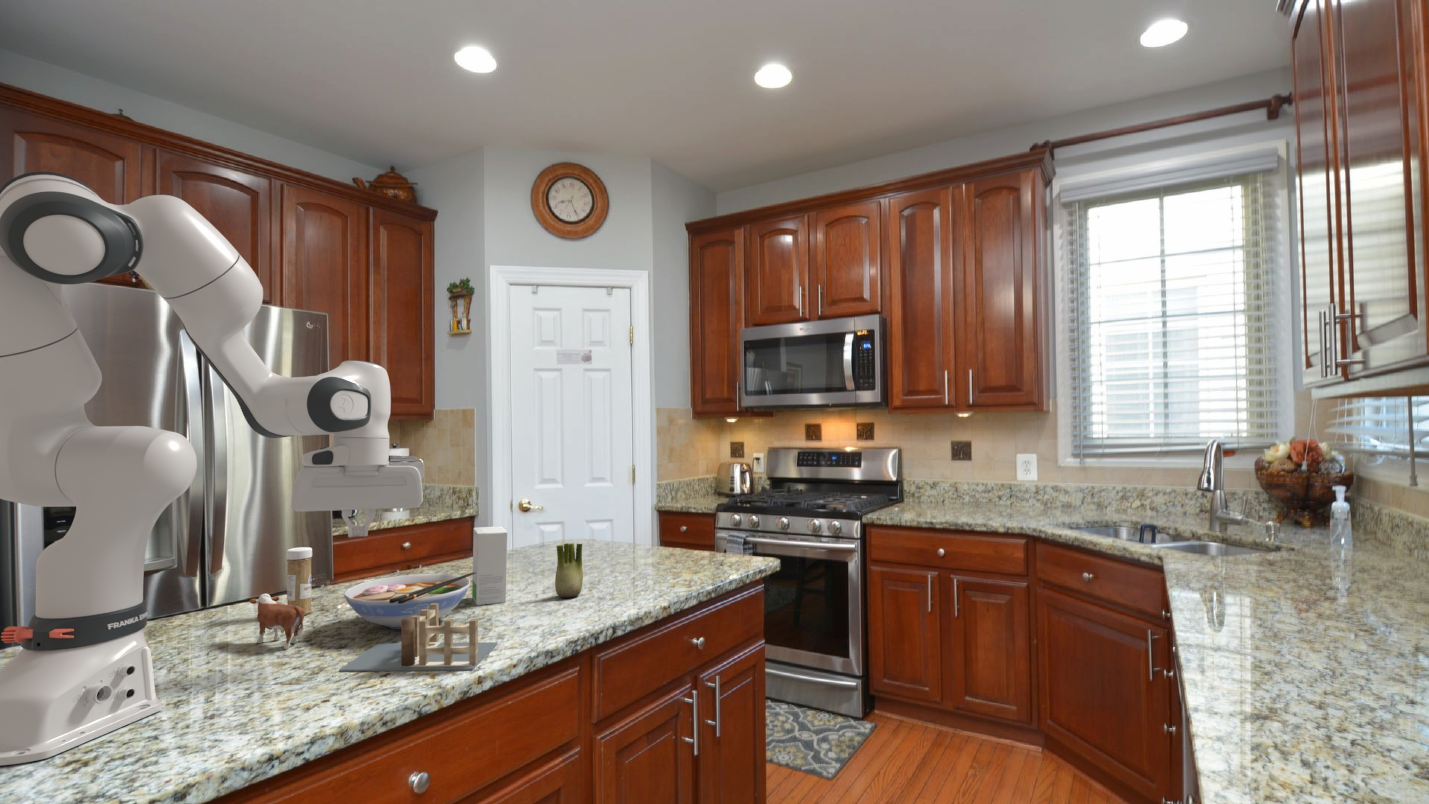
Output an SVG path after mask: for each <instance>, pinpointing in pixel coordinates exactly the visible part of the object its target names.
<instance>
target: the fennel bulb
mask: <svg viewBox="0 0 1429 804" xmlns="http://www.w3.org/2000/svg"><path fill="white" fill-rule="evenodd" d="M575 549H576V550H575ZM556 554H557V555H556V557H557V567H556V571H555V580H554V588H555V589H554V591H555V592H556V595H557V596H558V597H560V598H564V599H565V598H574V597H578V596H580V594H581V591H582V588H583V580H584V572H583V571H584V570H583V556H582V555H583V543H576V548H575V543H564V544H557V545H556Z"/></svg>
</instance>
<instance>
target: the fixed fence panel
mask: <svg viewBox="0 0 1429 804" xmlns="http://www.w3.org/2000/svg"><path fill="white" fill-rule="evenodd" d="M468 624H469V625H454V619H453V618H447V619H445V620H444V622H443V625H439V626H428V619H422V620H421V621H419V665H426V664H428V655H440V654H444V665H451V664H452V663H453V654H469V665H476V664H477V663H478V643H479V619H478V618H471V619H469V621H468ZM428 634H439V635H441V634H443V635H444V636H443V637H444V638H443V643H444V646H433V647H428ZM455 634H468V643H469V646H453V643H454V635H455Z"/></svg>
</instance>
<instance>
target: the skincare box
mask: <svg viewBox="0 0 1429 804" xmlns="http://www.w3.org/2000/svg"><path fill="white" fill-rule="evenodd" d="M472 540H473V542H472V544H473V546H472V548H473V549H472V573H473V572H474V573H475V574H473V575H472V578H471V579H472V585H471V586H472V587H471V588H472V589H471V597H472V600H473V601H474V603H475V606H477V605H478V606H484V605H485V604H487V605H493V604H502V603H503V604H505V603H506V602H507V567H508V566H507V565H508V564H507V563H508V561H507V560H508V559H507V558H508V531H507V530H506V528H504V527H503V526H501V525H497V526H482V527H479V526H477V527H473V539H472Z"/></svg>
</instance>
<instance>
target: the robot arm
mask: <svg viewBox="0 0 1429 804" xmlns="http://www.w3.org/2000/svg"><path fill="white" fill-rule="evenodd" d="M133 271H134V272H136V273H137V274H138V275H139V276H140V277H141V278H142V279H144V281H146V282H147V284H149V286H150V287H152V289H153V290H154V291H155V292H156V293H157V294H158V295H159V297H161V298H162V299H163V300H164V301H165V302H166V303H167V305H168V306H169V307H170V308H171V309H172V310H173V311H174V312H175V313H176V315H177V316H178V317H179V319H180V320H181V322H182V324H183V325H182V326H183V328H184V332H185V334H186V336H187V337H188V338H189V341H190V342H191V343H192V344H193V346H194V347H195V349H196V350H197V352H199V353H200V355H201V356H202V358H203V359H204V360H205V361H206V362H207V364H208V365H209V366H210V367H211V369H212V370H213V371H214V372H215V373H216V375H217V376H218V377H219V379H220V380H221V381H222V382H223V383H224V384H225V386H226V387H227V388H228V390H229V391H230V392H231V393H232V395H233V396H234V398H235V399H236V401H237V403H238V405H239V409H240V410H241V412H242V415H243V417H244V419H245V421H246V422H247V424H248V426H249V427H250V428H251V429H252V430H253V431H254V432H255V433H257V434H258V435H259V436H260V435H261V436H262V437H265V438H269V439H280V438H281V439H282V438H288V437H294V436H298V437H299V436H300V437H301V436H320V435H321V436H323V435H325V436H326V435H332V445H331V446H328V447H321V448H319V449H317V450H314V451H313V450H312V451H309V452H306V453H304V454H303V455H302V457H301V462H302V463H301V464H302V465H303V466H304V467H303V468H301V469H300V470H299V472H297V475H296V476H295V479H294V484H293V488H292V495H291V501H290V502H291V503H290V507H291V509H292V510H294V512H297V513H299V512H300V513H301V512H302V513H304V512H305V513H306V512H326V511H327V512H329V511H331V512H332V511H341V518H342V519H343V520H344V523H345V524H346V525H347V527H348V528H347V529H348V531H347V537H348V538H358V537H368V536H369V535H368V534H369V526H371V524H372V522H373V520H374V519H375V517H376V514H377V513H376V511H377V510H383V509H386V510H387V509H391V510H392V509H411V508H412V509H414V508H415V509H416V508H419V507H420V506H421V505H422V504H423V502H424V495H423V494H424V492H423V491H424V490H423V483H422V480H423V479H424V477H425V473H426V471H425V470H426V465H425V462H424V460H422V459H421V458H419V457H417V456H416V455H407V456H406V455H390V432H389V428H388V423H389V419H390V417H391V406H392V405H391V403H392V399H391V398H392V397H391V394H392V393H391V383H390V378H389V374H388V372H387V370H386V369H385V367H382V365H380V364H377V363H375V362H372V361H365V360H358V359H348V360H344V361H342V362H341V363H340V364H339V366H336V367H335V368H333V369H331V370H329V371H327V372H322V373H320V374H317V375H310V376H298V377H288V376H283V375H280V374H277V373H274V371H272V370H270V369H269V368H268V367H267V366H266V364H265V363H264V361H263V360H262V359H261V358H260V356H259V355H258V353H257V352H256V350H254V348H253V346H251V343H250V342H249V341H248V340H247V338H246V337H245V335H244V331H243V329H244V328H245V327H247V326H248V324H250V323H251V321H253V320H254V318H255V317H256V316H257V314H258V313H259V311H260V310H261V307H262V305H263V300H264V299H263V298H264V288H263V285H262V283H261V281H260V279H259V277H258V276H257V274H256V273H255V271H254V270H253V268H252V267H251V266H250V265H249V263H248V262H247V261H246V260H245V259H244V258H243V257H242V255H241V254H240V253H239V252H238V250H237V249H236V248H235V247H234V246H233V244H231V242H230V241H229V240H228V239H227V238H226V237H225V236H224V235H223V234H222V232H220V231H219V230H218V229H217V228H216V227H215V226H214V225H213V224H212V222H210V221H209V220H207V218H205V217H204V216H203V215H202V214H201V213H200V212H198V211H197V210H196V209H195V208H194V207H192V206H191V205H190V204H188V203H187V202H186V201H184V200H183V199H181V198H179V197H176V196H173V195H171V194H170V195H168V194H157V195H156V194H153V195H147V196H144V197H141V198H138V199H135V200H134V201H132V202H130V203H129V204H128V203H126V204H113V203H109V202H107V201H105V200H104V199H102V198H101V196H99V194H97V192H95V190H94V189H93V188H91V187H90V186H88V185H87V184H86V183H84V182H82V181H81V180H79V179H76V178H74V177H72V176H70V175H68V174H67V175H66V174H63V173H58V172H54V171H53V172H52V171H32V172H26V173H23V174H20V175H17V176H14V177H13V178H11V179H10V180H9V181H7V182H6V183H4V184H3V186H2V187H1V188H0V500H3V501H8V502H12V503H17V504H20V505H21V504H23V505H26V506H33V507H38V508H39V507H41V508H47V507H50V508H53V507H59V508H62V507H76V509H75V515H74V518H73V521H72V523H71V526H70V527H69V529H68V530H67V532H66V533H65V535H64V536H63V537H62V538H59V539H58V540H56V541H54V542H53V543H51V544H49V545H48V546H47V547H45V548H44V549H43V550H42V551H41V553H40V554H39V556H38V558H37V560H36V564H35V567H36V568H35V613H34V614H33V615H32V616H31V617H30V620H29V623H28V624H27V626H24V625H23V626H15V625H11V626H7V627H5V628H4V629H3V632H1V636H0V638H1V641H3V643H4V644H10V643H18V644H19V643H20V647H21V650H20V651H19V652H18V653H17V654H16V655H15V656H14V657H13V658H12V659H11V660H9V662H8V663H7V664H5V666H3V668H2V669H1V670H0V766H8V765H9V766H10V765H16V764H22V763H30V762H34V761H40V760H44V759H49V758H51V757H53V756H56V755H58V754H62V753H63V752H65V751H67V750H70V749H73V748H75V747H77V746H80V745H82V744H84V743H87V742H89V741H91V740H93V739H96V738H99V737H101V736H103V735H106V734H108V733H110V732H113V731H115V730H118V729H120V728H123V727H124V726H127V725H130V724H131V723H134V722H137V721H138V720H141V719H143V718H144V719H145V718H146V717H148V716H151V715H153V714H155V713H158V712H160V711H161V710H162V709H163V705H162V704H163V703H162V700H161V699H159V698H158V696H157V693H156V686H155V677H154V667H153V659H152V651H151V649H150V647H149V644H148V643H147V641H146V640H147V639H146V637H145V632H144V629H145V627H146V626H147V625H148V615H149V610H148V607H147V605H148V604H147V600H145V599H144V578H145V577H144V574H145V561H146V550H147V546H148V542H149V538H150V536H151V534H152V531H153V530H154V529H153V528H154V527H155V525H156V522H157V521H158V520H159V518H160V516H161V515H162V513H163V512H164V511H165V510H166V509H167V508H168V506H169V505H170V504H171V503H172V502H173V501H175V500H176V499H178V498H179V497H180V496H182V495H183V494H185V492H186V491H188V489H189V488H190V486H191V485H192V484H193V481H194V480H195V477H196V474H197V470H198V458H197V454H196V451H195V449H194V447H193V445H192V443H191V442H190V440H188V439H187V438H186V437H185V436H184V435H183V434H180V433H179V432H176V431H171V430H168V429H167V430H166V429H161V428H155V427H151V426H144V425H111V426H110V425H109V426H107V425H105V426H104V425H103V426H98V425H95V424H93V423H92V422H91V421H90V420H89V418H88V417H87V414H86V410H85V404H86V403H88V402H89V401H91V399H93V397H95V395H96V394H97V392H98V391H99V390H100V387H101V384H102V382H103V374H102V370H101V369H100V367H99V365H98V364H97V361H96V359H95V357H94V355H93V353H92V351H91V349H90V347H89V345H88V344H87V341H86V339H85V338H84V336H83V334H82V331H81V330H80V328H79V326H78V324H77V322H76V320H75V318H74V317H73V315H72V313H71V310H70V308H69V307H68V304H67V303H66V300H65V297H64V293H63V285H80V284H85V283H86V284H87V283H91V282H95V281H98V280H101V279H104V278H108V277H113V276H114V277H115V276H118V275H121V274H127V273H130V272H133ZM353 510H354V511H357V510H359V511H360V510H365V516H367V518H366V519H365V522H364V523H363V524H362V525H353V523H352V521H351V520H350V518H349V517H352V516H353V515H352V514H353Z"/></svg>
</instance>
